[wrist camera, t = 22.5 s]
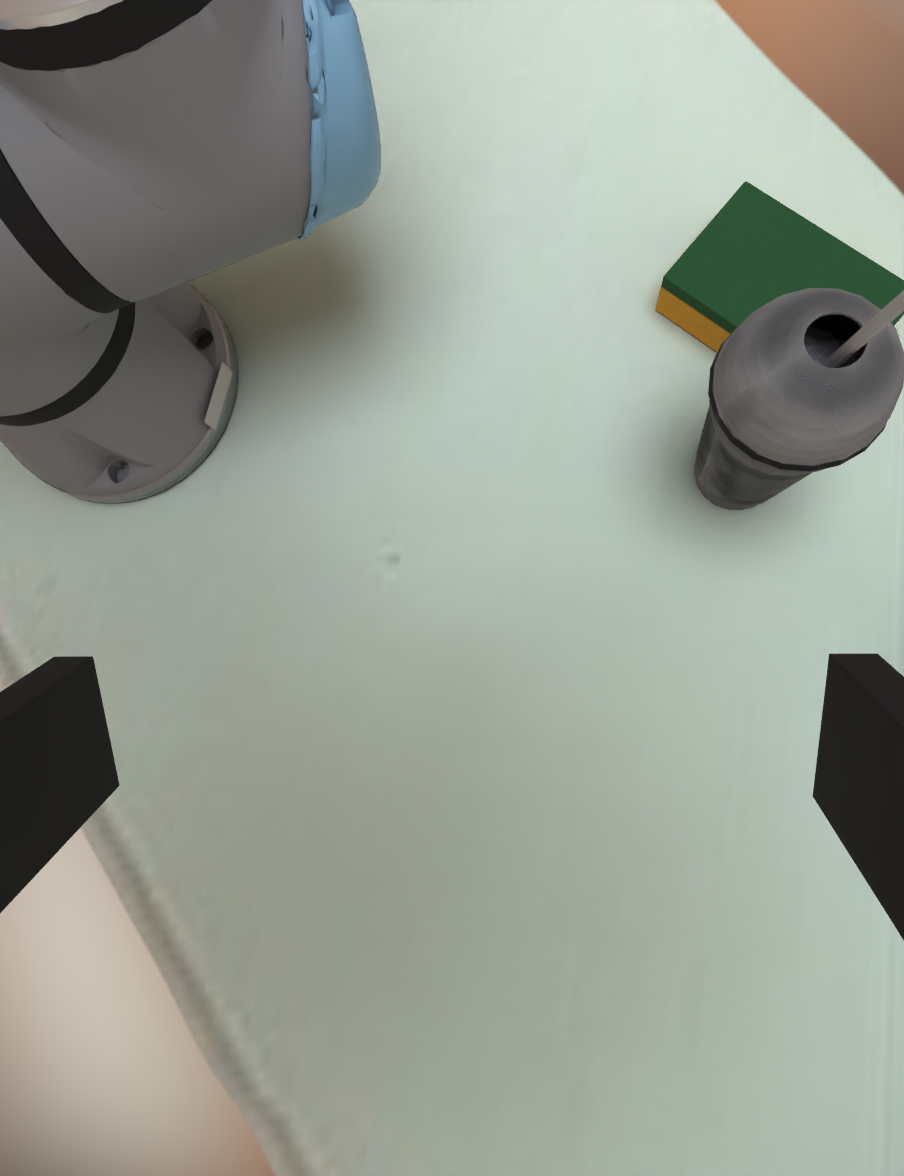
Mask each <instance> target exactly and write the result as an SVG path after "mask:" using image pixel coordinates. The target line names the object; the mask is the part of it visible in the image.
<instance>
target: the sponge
mask: <svg viewBox="0 0 904 1176" xmlns="http://www.w3.org/2000/svg"><path fill="white" fill-rule="evenodd" d="M808 288H831V289H841V290H844V291H847V292H850V293H853V294H856V295H860V296H862V297H864V298H865V299H867V300H868V301H869V302H871V303H872V304H874V305H875V306H877V307H878V308H880V309H881V310H882V309H883V308H884V307H885V306H886V305H888V304H889V303H890V302H891V301H892V300H893V299H894V298H895V297H897V296H898V295H899V294H900V293H901V292H902V291H903V290H904V280H902V279H901V278H899V277H897V276H896V275H894V274H893V273H891V272H889V271H888V270H886V269H885V268H883V267H882V266H880V265H878V264H877V263H875V262H874V261H872V260H870V259H869V258H867V257H866V256H864V255H862V254H861V253H859V252H858V251H856V250H855V249H853V248H851V247H850V246H848V245H847V244H845V243H843V242H842V241H840V240H839V239H837V238H835V237H834V236H832V235H831V234H829V233H827V232H826V231H824V230H823V229H821V228H820V227H818V226H816V225H815V224H813V223H812V222H810V221H808V220H807V219H805V218H804V217H802V216H800V215H799V214H797V213H796V212H794V211H793V210H791V209H789V208H788V207H786V206H785V205H783V204H781V203H780V202H778V201H777V200H775V199H773V198H772V197H770V196H769V195H767V194H765V193H764V192H762V191H761V190H759V189H758V188H756V187H754V186H753V185H751V184H750V183H748V182H744V183H743V185H742V186H741V187H740V188H739V189H738V190H737V192H736V193H735V194H734V195H733V196H732V197H731V199H730V200H729V201H728V202H727V203H726V204H725V206H724V207H723V208H722V209H721V210H720V211H719V213H718V214H717V215H716V216H715V217H714V218H713V220H712V221H711V222H710V223H709V224H708V225H707V227H706V228H705V229H704V230H703V231H702V232H701V234H700V235H699V236H698V237H697V238H696V239H695V241H694V242H693V243H692V244H691V245H690V246H689V248H688V249H687V250H686V251H685V252H684V253H683V255H682V256H681V257H680V258H679V259H678V260H677V262H676V263H675V264H674V265H673V266H672V267H671V269H670V270H669V271H668V272H667V273H666V275H665V276H664V278H663V282H662V286H661V289H660V293H659V297H658V301H657V305H656V310H657V311H658V312H659V313H661V314H662V315H664V316H665V317H667V318H668V319H670V320H671V321H672V322H674V323H675V324H677V325H678V326H680V327H681V328H683V329H684V330H685V331H687V332H688V333H690V334H691V335H693V336H694V337H696V338H697V339H698V340H700V341H701V342H703V343H704V344H706V345H707V346H709V347H710V348H711V349H713V350H714V351H716V352H718V350H719V348H720V346H721V344H722V343H723V342H724V341H725V340H726V338H727V337H728V336H729V335H730V334H731V333H732V332H733V331H734V330H735V329H736V327H737V326H738V325H739V324H740V323H742V322H743V321H744V320H745V319H746V318H747V317H748V316H749V315H750V314H751V313H752V312H753V311H755V310H757V309H758V308H760V307H762V306H763V305H765V304H767V303H769V302H770V301H772V300H774V299H775V298H777V297H779V296H781V295H784V294H788V293H792V292H796V291H800V290H804V289H808ZM903 315H904V311H903V312H902V313H901V314H900V315H899V316H898V317H896V318H895V319H894V320H893V321H892V322H891V323H892V324H893V325H895V324H896V323H897V322H898V321H899V319H900V318H901V317H902V316H903Z"/></svg>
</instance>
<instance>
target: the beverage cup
mask: <svg viewBox="0 0 904 1176" xmlns="http://www.w3.org/2000/svg"><path fill="white" fill-rule="evenodd" d="M903 311H904V290H903V291H902V292H901V293H900V294H899V295H898V296H897V297H895V298H894V299H893V300H892V301H891V302H890V303H889V304H888V305H886V306H885V307H884V308H883V309H882V310H881V309H880V308H878V307H877V306H875V305H874V304H872V303H871V302H869V301H868V300H867V299H865V298H864V297H862V296H860V295H856V294H853V293H850V292H847V291H844V290H841V289H831V288H808V289H804V290H800V291H796V292H792V293H788V294H784V295H781V296H779V297H777V298H775V299H774V300H772V301H770V302H769V303H767V304H765V305H763V306H762V307H760V308H758V309H757V310H755V311H753V312H752V313H751V314H750V315H749V316H748V317H747V318H746V319H745V320H744V321H743V322H742V323H740V324H739V325H738V326H737V327H736V329H735V330H734V331H733V332H732V333H731V334H730V335H729V336H728V337H727V338H726V340H725V341H724V342H723V343H722V344H721V346H720V348H719V350H718V352H717V355H716V357H715V359H714V361H713V364H712V366H711V368H710V380H709V393H708V395H709V398H710V406H709V410H708V413H707V417H706V420H705V424H704V428H703V431H702V435H701V439H700V442H699V446H698V449H697V455H696V462H695V473H694V474H695V478H696V482H697V486H698V487H699V489H700V490H701V492H702V493H703V495H704V496H705V497H706V498H707V499H709V500H710V501H711V502H712V503H714V504H715V505H718V506H721V507H723V508H726V509H734V510H742V509H747V508H751V507H754V506H756V505H757V504H760V503H763V502H765V501H766V500H768V499H770V498H772V497H773V496H775V495H777V494H778V493H780V492H781V491H783V490H785V489H786V488H788V487H790V486H791V485H793V484H794V483H796V482H798V481H799V480H801V479H803V478H804V477H806V476H807V475H809V474H811V473H812V472H816V471H820V470H823V469H826V468H829V467H834V466H838V465H841V464H843V463H844V462H846V461H848V460H850V459H851V458H853V457H855V456H857V455H858V454H860V453H862V452H864V451H865V450H866V449H867V448H868V447H869V446H870V444H871V443H872V442H873V441H874V440H875V439H876V438H877V437H878V436H879V435H880V433H881V432H882V431H883V430H884V428H885V426H886V423H887V421H888V419H889V418H890V416H891V414H892V412H893V410H894V407H895V405H896V402H897V400H898V398H899V395H900V393H901V390H902V388H903V382H904V352H903V348H902V345H901V342H900V339H899V336H898V333H897V330H896V328H895V327H894V325H893V324H892V323H891V322H892V321H893V320H894V319H895V318H896V317H898V316H899V315H900V314H901V313H902V312H903Z"/></svg>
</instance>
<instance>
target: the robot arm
mask: <svg viewBox="0 0 904 1176" xmlns="http://www.w3.org/2000/svg"><path fill="white" fill-rule="evenodd" d="M380 169H381V144H380V134H379V126H378V119H377V113H376V107H375V101H374V96H373V90H372V85H371V80H370V75H369V70H368V65H367V60H366V56H365V51H364V46H363V42H362V38H361V34H360V30H359V26H358V22H357V18H356V15H355V12H354V10H353V8H352V6H351V4H350V2H349V0H0V440H1V442H2V443H3V444H4V445H5V446H6V447H7V448H8V449H9V451H10V452H11V453H12V454H13V455H14V456H15V457H16V458H17V460H18V461H19V462H20V463H21V464H22V465H23V466H24V467H25V468H27V469H28V470H29V471H30V472H32V473H33V474H34V475H35V476H37V477H38V478H39V479H41V480H42V481H44V482H45V483H47V484H49V485H51V486H53V487H54V488H57V489H59V490H61V491H64V492H66V493H69V494H71V495H73V496H76V497H78V498H82V499H85V500H89V501H94V502H101V503H123V502H130V501H135V500H139V499H143V498H146V497H149V496H152V495H155V494H157V493H159V492H162V491H164V490H166V489H168V488H169V487H171V486H173V485H175V484H176V483H178V482H179V481H181V480H182V479H183V478H185V477H186V476H187V475H189V474H190V473H191V472H192V471H193V470H194V469H196V467H197V466H198V465H199V464H200V463H201V462H202V461H203V460H204V459H205V458H206V457H207V456H208V454H209V453H210V452H211V451H212V449H213V448H214V446H215V445H216V443H217V442H218V440H219V439H220V437H221V435H222V433H223V431H224V429H225V427H226V425H227V423H228V421H229V418H230V415H231V412H232V409H233V405H234V401H235V397H236V390H237V376H238V373H237V360H236V354H235V350H234V346H233V342H232V339H231V337H230V334H229V332H228V330H227V328H226V326H225V324H224V322H223V321H222V319H221V318H220V316H219V315H218V313H217V312H216V311H215V310H214V309H213V307H212V306H211V305H210V304H209V303H208V302H207V300H206V299H205V298H204V297H203V296H202V295H201V294H200V293H199V292H198V291H197V290H196V289H195V288H194V287H193V286H191V285H190V284H189V283H188V281H190V280H193V279H195V278H198V277H200V276H203V275H205V274H208V273H210V272H212V271H215V270H217V269H220V268H222V267H225V266H227V265H230V264H232V263H235V262H237V261H240V260H242V259H245V258H247V257H250V256H252V255H255V254H257V253H259V252H262V251H264V250H267V249H269V248H272V247H274V246H277V245H279V244H282V243H284V242H287V241H289V240H292V239H294V238H298V239H303V238H306V235H310V234H311V233H312V232H313V230H314V229H315V227H317V226H319V225H321V224H323V223H325V222H327V221H329V220H331V219H333V218H336V217H338V216H340V215H342V214H344V213H346V212H348V211H350V210H352V209H354V208H357V207H358V206H360V205H361V204H362V203H363V202H364V201H365V200H366V199H367V198H368V197H369V195H370V193H371V191H372V190H373V189H374V188H375V186H376V184H377V182H378V178H379V175H380ZM118 786H119V781H118V776H117V771H116V766H115V762H114V757H113V752H112V747H111V742H110V737H109V732H108V727H107V723H106V718H105V713H104V708H103V703H102V698H101V693H100V689H99V684H98V679H97V674H96V669H95V664H94V659H93V657H53V658H52V659H50V660H49V661H47V662H46V663H44V664H43V665H41V666H40V667H38V668H36V669H35V670H33V671H32V672H30V673H29V674H27V675H26V676H24V677H23V678H21V679H20V680H18V681H17V682H15V683H14V684H12V685H10V686H9V687H7V688H6V689H4V690H3V691H1V692H0V913H1V912H2V911H3V910H4V909H5V907H6V906H7V905H8V904H9V903H10V902H11V901H12V900H13V899H14V898H15V897H16V896H17V895H18V893H20V891H21V890H22V889H23V888H24V887H25V886H26V885H27V884H28V883H29V882H30V881H31V880H32V879H33V877H34V876H35V875H36V874H37V873H38V872H39V871H40V870H41V869H42V868H43V867H44V866H45V865H46V864H47V862H48V861H49V860H50V859H51V858H52V857H53V856H54V855H55V854H56V853H57V852H58V851H59V849H60V848H61V847H62V846H63V845H64V844H65V843H66V842H67V841H68V840H69V839H70V838H71V837H72V836H73V834H75V832H76V831H77V830H78V829H79V828H80V827H81V826H82V825H83V824H84V823H85V822H86V821H87V820H88V819H89V817H90V816H91V815H92V814H93V813H94V812H95V811H96V810H97V809H98V808H99V807H100V806H101V805H102V804H103V802H104V801H105V800H106V799H107V798H108V797H109V796H110V795H111V794H112V793H113V792H114V791H115V790H116V788H117V787H118ZM813 797H814V799H815V800H816V802H817V804H818V805H819V807H820V808H821V810H822V812H823V813H824V815H825V816H826V818H827V819H828V821H829V823H830V824H831V826H832V827H833V829H834V831H835V832H836V834H837V835H838V837H839V838H840V840H841V842H842V843H843V845H844V846H845V848H846V849H847V851H848V853H849V854H850V856H851V857H852V859H853V861H854V862H855V864H856V865H857V867H858V868H859V870H860V872H861V873H862V875H863V876H864V878H865V880H866V881H867V883H868V884H869V886H870V887H871V889H872V891H873V892H874V894H875V895H876V897H877V899H878V900H879V902H880V903H881V905H882V906H883V908H884V910H885V911H886V913H887V914H888V916H889V918H890V919H891V921H892V922H893V924H894V925H895V927H896V929H897V930H898V932H899V933H900V935H901V937H902V938H903V940H904V677H903V676H902V675H901V674H900V673H899V672H898V671H896V670H895V669H894V668H893V667H892V666H891V665H890V664H889V663H887V662H886V661H885V660H884V659H883V658H882V657H881V656H879V655H878V654H829V661H828V670H827V678H826V687H825V696H824V704H823V713H822V721H821V730H820V739H819V747H818V756H817V764H816V773H815V782H814V790H813Z"/></svg>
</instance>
